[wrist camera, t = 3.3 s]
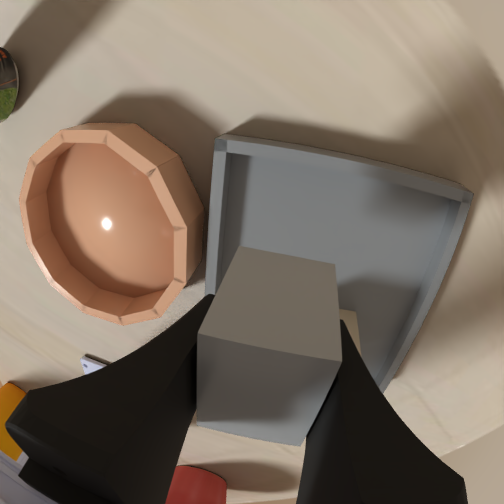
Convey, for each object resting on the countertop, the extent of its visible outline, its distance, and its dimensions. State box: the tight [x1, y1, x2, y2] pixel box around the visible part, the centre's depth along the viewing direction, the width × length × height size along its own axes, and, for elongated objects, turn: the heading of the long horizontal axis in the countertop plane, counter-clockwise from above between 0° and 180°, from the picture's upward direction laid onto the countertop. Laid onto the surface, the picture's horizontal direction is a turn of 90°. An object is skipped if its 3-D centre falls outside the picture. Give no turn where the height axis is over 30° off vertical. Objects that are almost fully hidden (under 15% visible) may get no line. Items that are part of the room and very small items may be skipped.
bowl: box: [19, 123, 204, 326], centre depth 18 cm, size 12×12×3 cm
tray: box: [205, 134, 474, 394], centre depth 18 cm, size 16×13×2 cm
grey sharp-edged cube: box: [197, 246, 342, 446], centre depth 10 cm, size 4×3×4 cm
